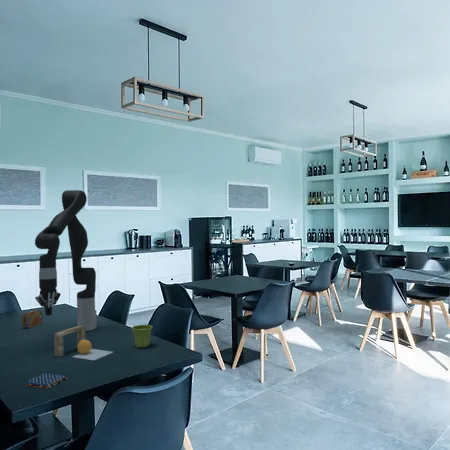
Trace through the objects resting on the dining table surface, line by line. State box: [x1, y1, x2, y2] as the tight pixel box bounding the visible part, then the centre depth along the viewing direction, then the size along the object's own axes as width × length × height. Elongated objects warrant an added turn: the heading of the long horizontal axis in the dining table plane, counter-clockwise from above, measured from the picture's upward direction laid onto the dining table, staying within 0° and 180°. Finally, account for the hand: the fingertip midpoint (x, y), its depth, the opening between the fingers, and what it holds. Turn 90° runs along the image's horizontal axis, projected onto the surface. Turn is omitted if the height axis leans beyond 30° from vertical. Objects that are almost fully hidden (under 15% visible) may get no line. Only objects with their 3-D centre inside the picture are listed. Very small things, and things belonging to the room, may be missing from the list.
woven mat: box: [24, 372, 68, 390], centre depth 149 cm, size 10×11×2 cm
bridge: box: [53, 325, 86, 357], centre depth 186 cm, size 3×15×10 cm, turn 155°
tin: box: [21, 309, 44, 329], centre depth 235 cm, size 15×3×8 cm, turn 168°
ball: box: [76, 339, 93, 354], centre depth 182 cm, size 6×6×6 cm
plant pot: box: [131, 324, 153, 348], centre depth 192 cm, size 9×9×9 cm
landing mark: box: [72, 348, 114, 362], centre depth 180 cm, size 12×12×1 cm
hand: (48, 315), depth 191 cm, fingers closed
